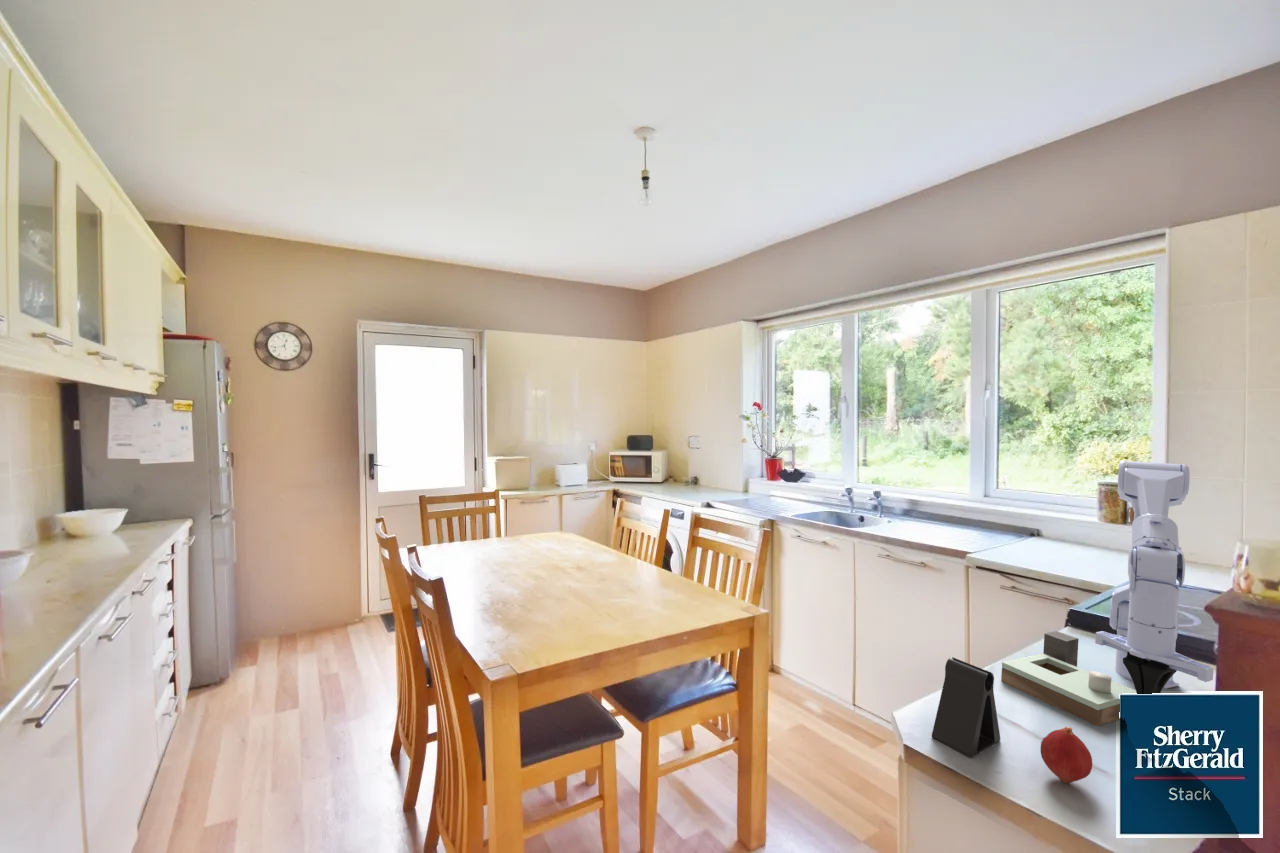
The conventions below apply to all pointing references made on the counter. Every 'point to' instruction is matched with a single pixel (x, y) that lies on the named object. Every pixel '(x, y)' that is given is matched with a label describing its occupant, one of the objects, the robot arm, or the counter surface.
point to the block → (1061, 647)
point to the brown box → (1061, 697)
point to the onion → (1066, 755)
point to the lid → (1070, 681)
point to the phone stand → (967, 709)
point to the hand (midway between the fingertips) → (1147, 704)
